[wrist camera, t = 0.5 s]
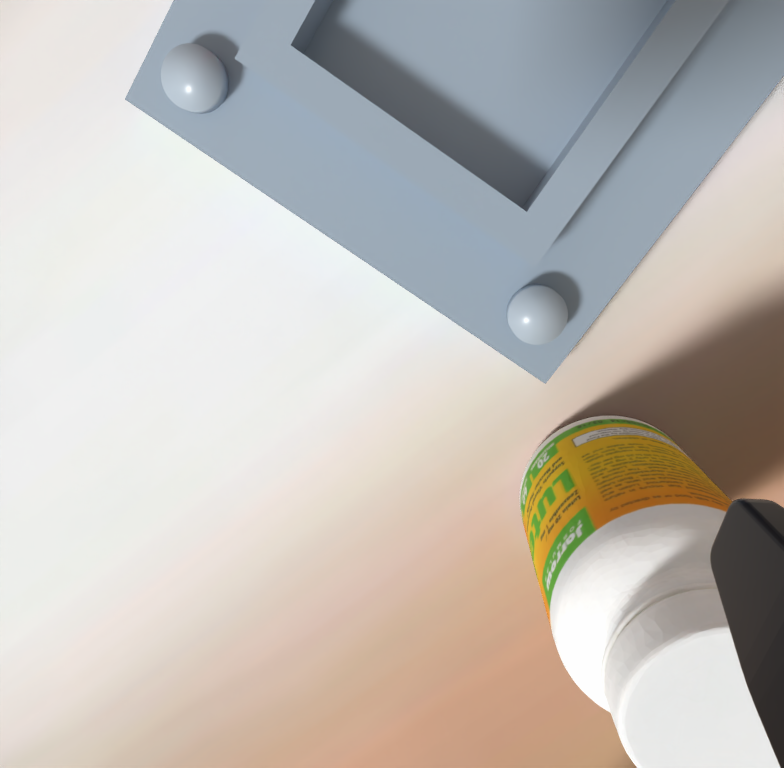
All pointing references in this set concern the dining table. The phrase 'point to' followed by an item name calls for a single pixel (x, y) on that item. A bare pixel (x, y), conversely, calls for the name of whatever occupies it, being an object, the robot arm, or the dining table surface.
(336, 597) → the dining table surface
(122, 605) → the dining table surface
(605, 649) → the supplement bottle
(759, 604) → the robot arm
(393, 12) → the base plate
